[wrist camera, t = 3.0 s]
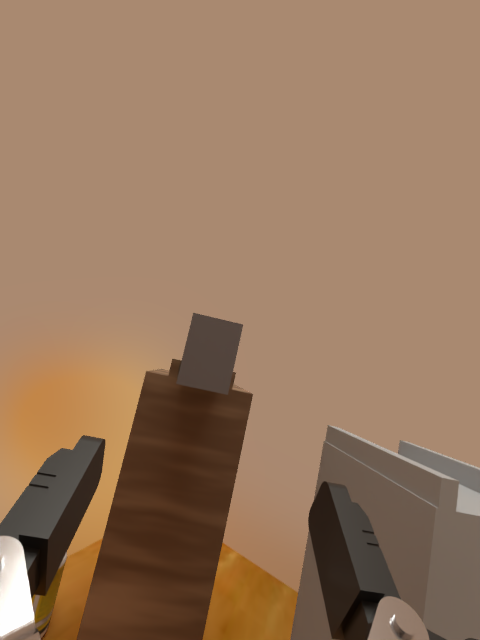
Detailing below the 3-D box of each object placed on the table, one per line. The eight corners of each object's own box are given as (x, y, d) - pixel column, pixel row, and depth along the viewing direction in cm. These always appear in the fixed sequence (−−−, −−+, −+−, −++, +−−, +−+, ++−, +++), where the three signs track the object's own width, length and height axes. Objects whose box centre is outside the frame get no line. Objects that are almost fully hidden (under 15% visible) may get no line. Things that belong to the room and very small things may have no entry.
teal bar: (227, 394, 23) (243, 324, 24) (176, 383, 22) (193, 313, 23) (211, 379, 46) (219, 344, 47) (186, 373, 46) (194, 338, 47)
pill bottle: (41, 606, 42) (67, 513, 44) (53, 642, 37) (81, 537, 39) (-19, 621, 38) (12, 519, 40) (-14, 665, 33) (21, 547, 35)
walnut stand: (168, 802, 26) (256, 377, 31) (37, 791, 25) (150, 354, 30) (178, 650, 40) (237, 373, 45) (93, 639, 39) (164, 357, 44)
